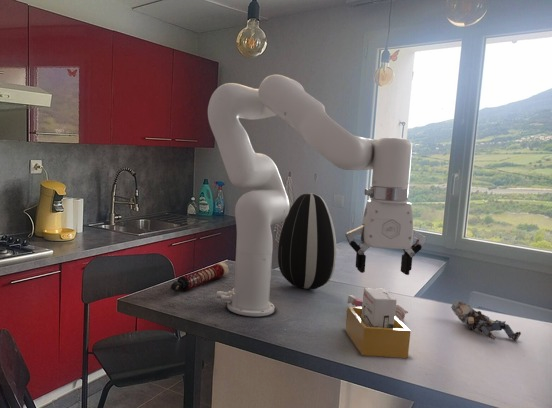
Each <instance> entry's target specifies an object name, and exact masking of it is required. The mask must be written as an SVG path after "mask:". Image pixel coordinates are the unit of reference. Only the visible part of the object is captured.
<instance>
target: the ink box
mask: <svg viewBox="0 0 552 408" xmlns="http://www.w3.org/2000/svg"><path fill="white" fill-rule="evenodd" d="M362 300H363V302H362V310H361V320H362V321H363V322H364V324H365V325H366V326H367V327H379V328H394V319H395V310H396V305H397V298H395V297H394V296H393V295H392V294H391V293H390V291H388V290H387V289H386V288H381V287H379V288H378V287H364V288H363V294H362Z"/></svg>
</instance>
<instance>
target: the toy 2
mask: <svg viewBox="0 0 552 408" xmlns="http://www.w3.org/2000/svg"><path fill="white" fill-rule="evenodd" d="M450 308H451V310H452V311H453V313H454V315H455V316H456V317H457V318H458V320H459V321H461V322H462V324H465V325H466V326H467V327H468V329H469V330H470V331H473V330H476V329H477V330H478V331H479V333H483V334H485V336H486V337H487V338H488V339H491V340H493V341H495V340H496V338H497V336H495V334H493V333H492V332H495V331H502V330H503V331H504V333H505V334H506V336H507V337H508V338H509V339H510V340H513V342H517V341H518V340H519V338H520V336H521V335H522V332H521V331H516V332H515V331H513V329H512V328H511V326H510V324H508V323H506V320H503V321H501V320H498V319H495V320H493V319H490V317H489V316H488V315H485V314H483V313H482V311H480V310H476V309H474V308H473V307H472V306H471V305H470V304H466V303H465V302H463V300H458V299H455V301H453V304H451V306H450Z"/></svg>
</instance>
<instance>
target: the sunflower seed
mask: <svg viewBox="0 0 552 408" xmlns="http://www.w3.org/2000/svg"><path fill="white" fill-rule="evenodd" d="M337 247H338V246H337V238H336V231H335V226H334V222H333V218H332V215H331V212H330V210H329V207H328V205H327V203H326V201H325V199H324V198H322V197H321V196H320V195H319V194H316V193H313V192H309V193H302V194H301V195H299V196H298V197H297V198H295V200H294V201H293V203H292V204H291V206H290V207H289V213H288V215H287V217H286V218H285V219H284V220H283V224H282V227H281V230H280V233H279V238H278V245H277V265H278V268H279V272H280V273H281V275H282V276H283V277H284V279H285V280H286V281H287V282H288V283H289V284H291V285H292V286H295V287H297V288H300V289H301V288H302V289H306V290H315V289H318V288H321V287H323V286H325V285H326V284H327V283H328V282H330V281H331V279H332V277H333V275H334V272H335V269H336V265H337V264H336V263H337Z"/></svg>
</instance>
